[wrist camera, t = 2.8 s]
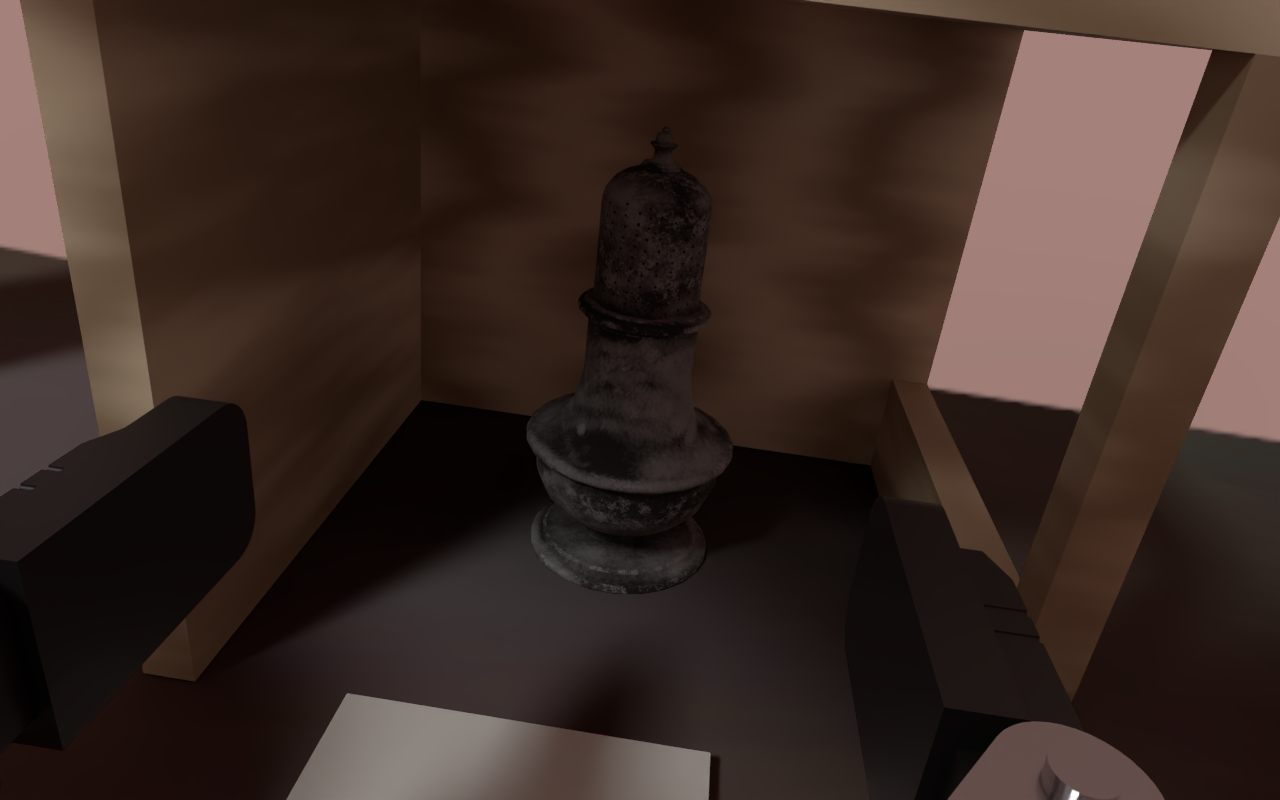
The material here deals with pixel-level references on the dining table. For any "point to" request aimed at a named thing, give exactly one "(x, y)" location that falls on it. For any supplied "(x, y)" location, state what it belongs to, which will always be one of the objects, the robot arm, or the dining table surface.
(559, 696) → the dining table surface
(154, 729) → the dining table surface
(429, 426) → the dining table surface
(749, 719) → the dining table surface
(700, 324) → the salt shaker
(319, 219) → the hutch
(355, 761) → the mat
